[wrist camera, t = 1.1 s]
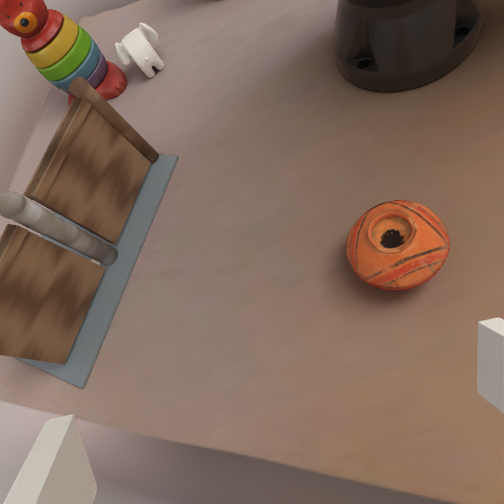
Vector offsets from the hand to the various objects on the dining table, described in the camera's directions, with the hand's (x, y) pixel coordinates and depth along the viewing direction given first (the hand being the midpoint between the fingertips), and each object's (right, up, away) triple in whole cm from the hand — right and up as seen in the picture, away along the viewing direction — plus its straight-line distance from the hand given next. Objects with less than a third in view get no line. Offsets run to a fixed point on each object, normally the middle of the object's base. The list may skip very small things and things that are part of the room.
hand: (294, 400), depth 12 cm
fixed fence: (-17, +11, +38) cm, 43 cm away
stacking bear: (-27, +32, +52) cm, 66 cm away
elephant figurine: (-17, +34, +48) cm, 61 cm away
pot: (+12, +4, +22) cm, 26 cm away
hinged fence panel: (-21, -2, +33) cm, 40 cm away
